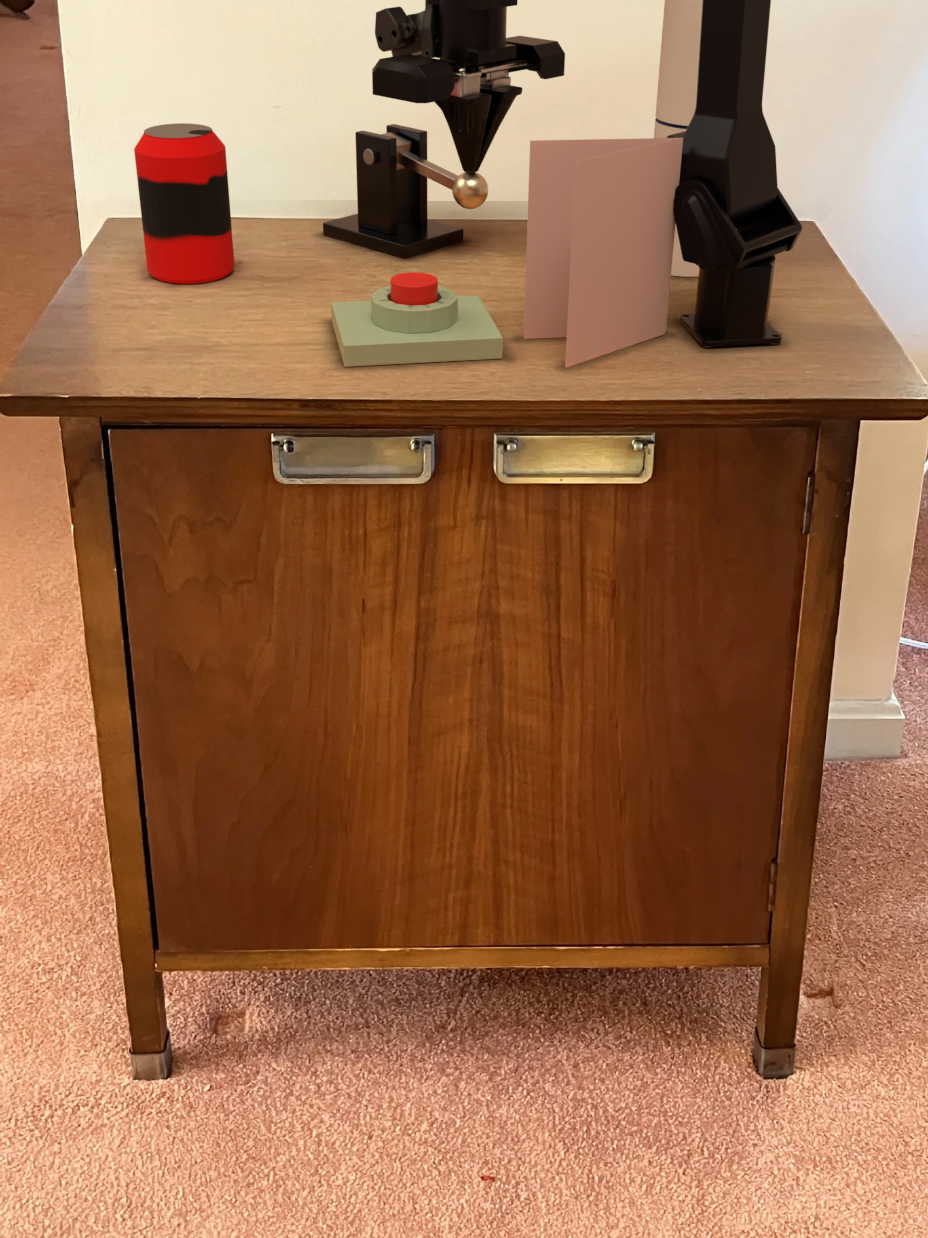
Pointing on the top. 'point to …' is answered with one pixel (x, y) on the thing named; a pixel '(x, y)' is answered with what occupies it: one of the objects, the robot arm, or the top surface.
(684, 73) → the cylindrical container
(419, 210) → the switch bracket
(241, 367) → the top surface
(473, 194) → the lever
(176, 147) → the soda can
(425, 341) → the button housing
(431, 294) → the button
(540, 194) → the greeting card
